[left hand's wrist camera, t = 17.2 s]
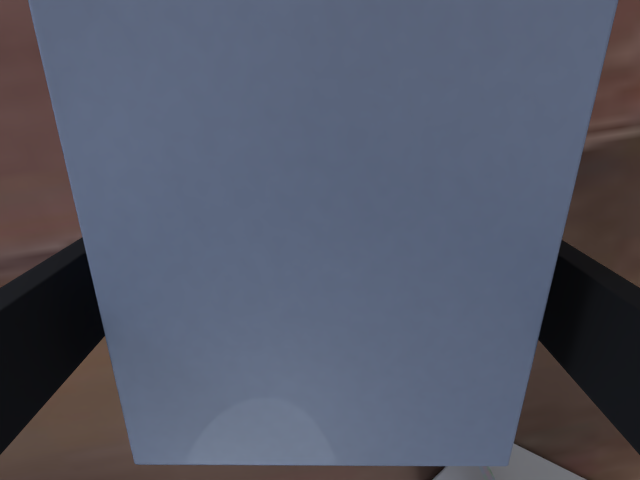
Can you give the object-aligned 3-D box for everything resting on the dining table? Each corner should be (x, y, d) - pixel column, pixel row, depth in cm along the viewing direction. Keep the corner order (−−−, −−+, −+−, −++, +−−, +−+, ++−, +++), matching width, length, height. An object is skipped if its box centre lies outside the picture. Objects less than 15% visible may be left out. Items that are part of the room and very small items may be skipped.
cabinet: (145, -330, 12) (-288, -1355, 3) (501, -331, 12) (946, -1370, 3) (214, 304, 20) (133, 465, 11) (429, 305, 20) (509, 467, 11)
